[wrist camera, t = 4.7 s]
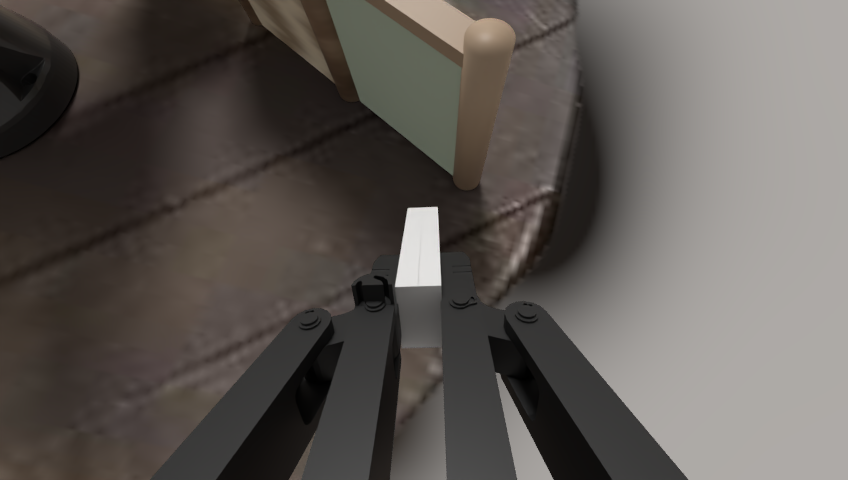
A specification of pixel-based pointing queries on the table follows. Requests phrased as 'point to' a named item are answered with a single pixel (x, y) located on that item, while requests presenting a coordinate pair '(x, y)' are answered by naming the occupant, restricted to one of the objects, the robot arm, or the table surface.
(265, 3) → the fence fixed
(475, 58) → the fence gate
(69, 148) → the table surface
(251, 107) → the table surface
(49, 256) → the table surface
